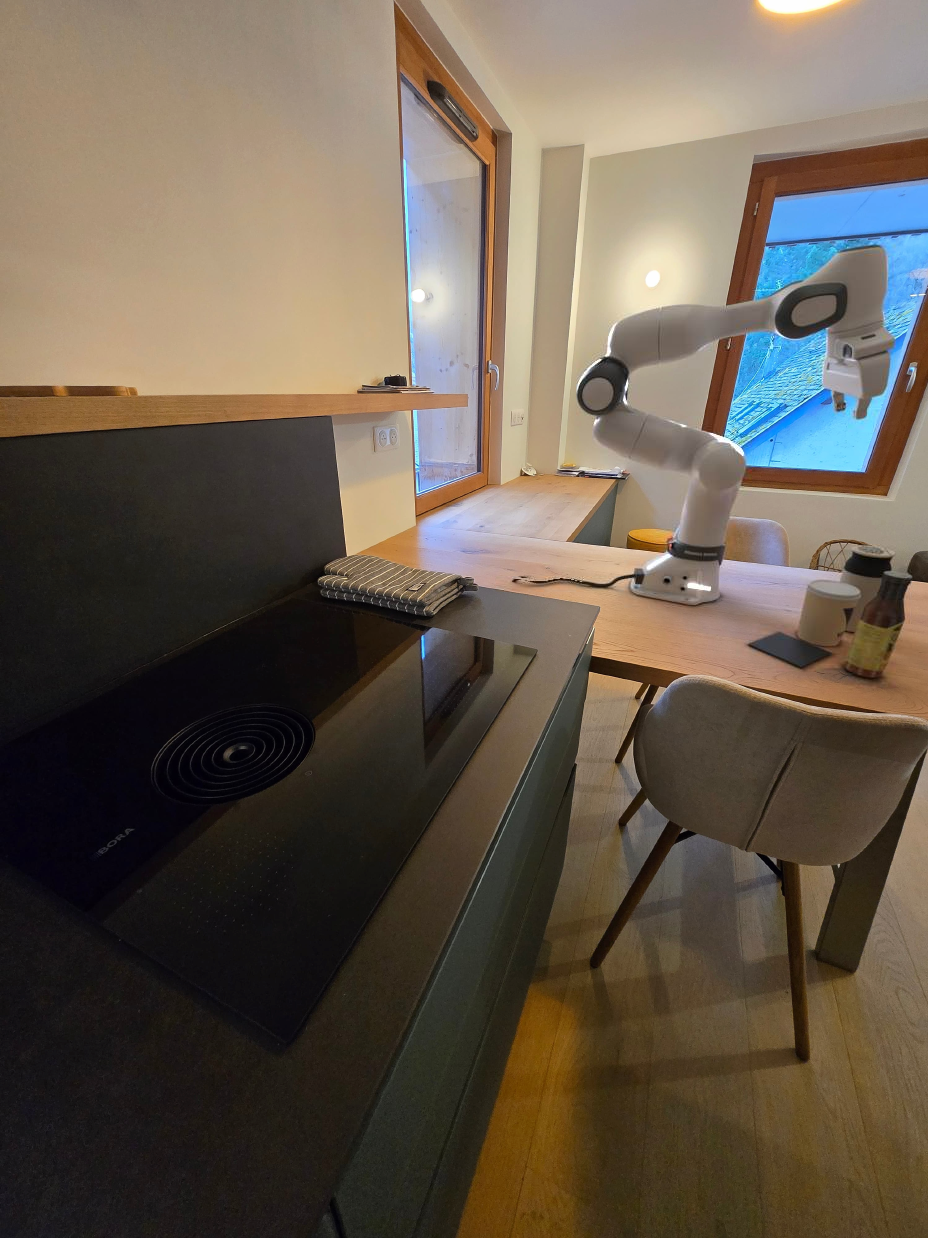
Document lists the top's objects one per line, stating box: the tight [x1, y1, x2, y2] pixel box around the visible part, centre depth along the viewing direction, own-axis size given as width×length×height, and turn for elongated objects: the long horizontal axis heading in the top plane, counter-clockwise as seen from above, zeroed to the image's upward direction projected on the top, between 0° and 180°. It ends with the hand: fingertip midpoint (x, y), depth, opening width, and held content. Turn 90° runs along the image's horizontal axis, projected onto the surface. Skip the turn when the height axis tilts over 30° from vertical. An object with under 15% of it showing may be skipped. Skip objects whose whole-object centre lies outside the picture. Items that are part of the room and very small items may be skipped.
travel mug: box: [838, 544, 897, 633], centre depth 109 cm, size 8×8×18 cm
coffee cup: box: [797, 579, 861, 647], centre depth 105 cm, size 9×9×12 cm
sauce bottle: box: [844, 570, 913, 679], centre depth 91 cm, size 7×6×20 cm
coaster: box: [747, 631, 833, 669], centre depth 103 cm, size 11×11×1 cm
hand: (849, 414), depth 103 cm, fingers open, 8 cm apart
